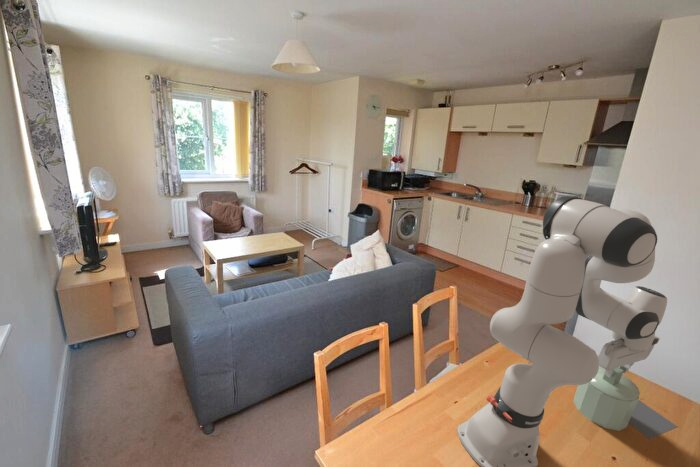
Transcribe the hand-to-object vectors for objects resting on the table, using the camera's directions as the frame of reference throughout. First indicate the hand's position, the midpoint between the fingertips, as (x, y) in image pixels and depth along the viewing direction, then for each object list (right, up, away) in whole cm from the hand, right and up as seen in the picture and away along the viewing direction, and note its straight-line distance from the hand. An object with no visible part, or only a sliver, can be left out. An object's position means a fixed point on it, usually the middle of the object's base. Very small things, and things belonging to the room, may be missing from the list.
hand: (615, 373), depth 101 cm
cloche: (-1, -15, +5) cm, 16 cm away
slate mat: (+11, -16, +5) cm, 21 cm away
